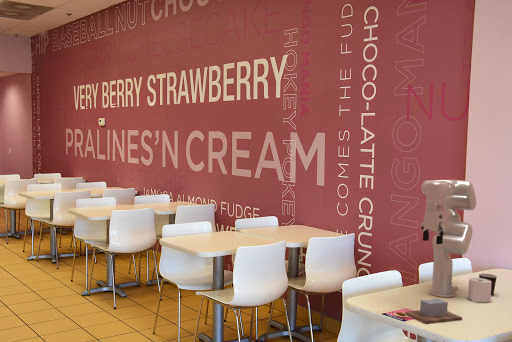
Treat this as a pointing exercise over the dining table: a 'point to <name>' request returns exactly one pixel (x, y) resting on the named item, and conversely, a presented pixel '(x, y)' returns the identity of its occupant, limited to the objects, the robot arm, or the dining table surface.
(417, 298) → the dining table surface
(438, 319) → the housing base
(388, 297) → the dining table surface
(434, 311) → the block
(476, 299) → the toilet tissue
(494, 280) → the coffee mug
